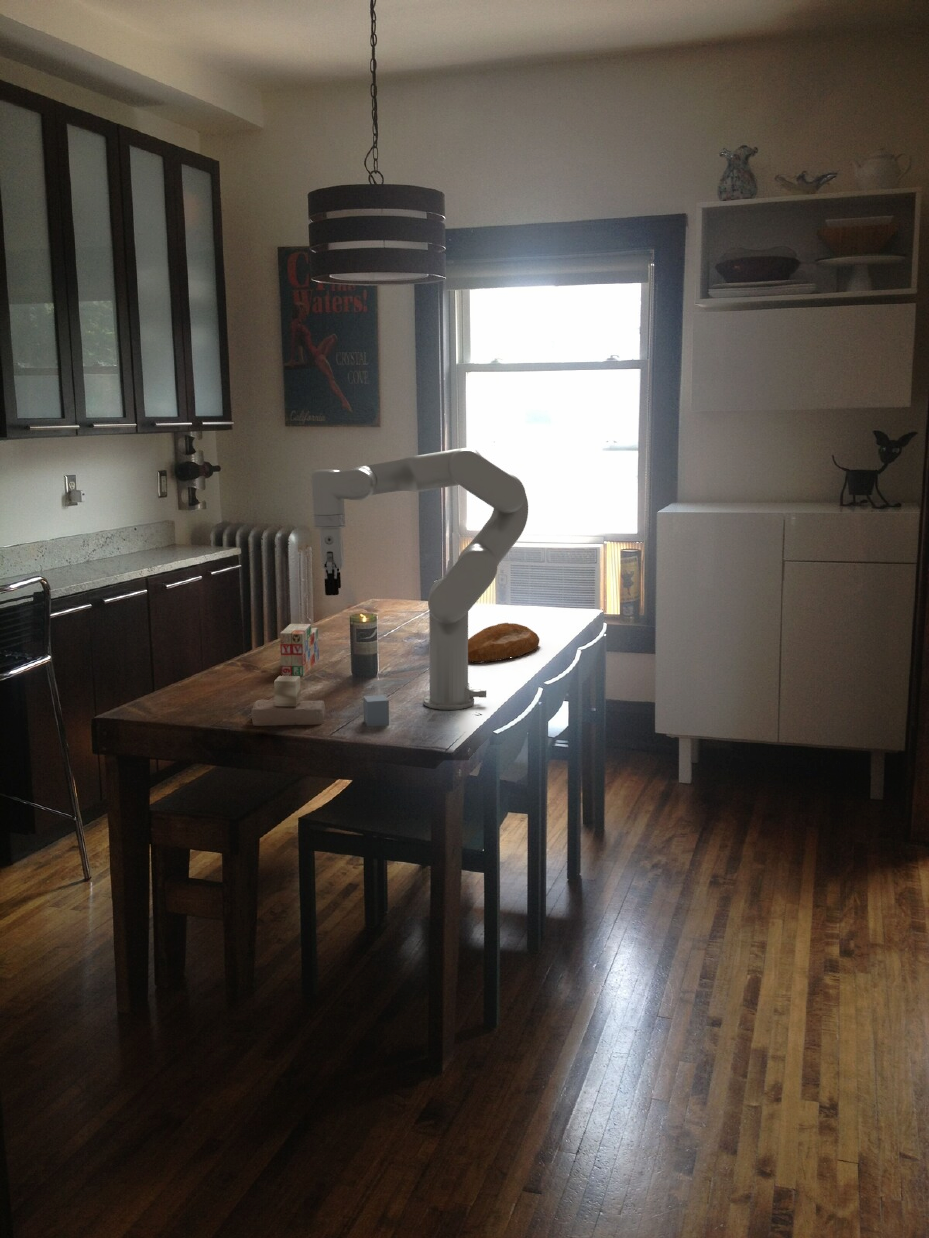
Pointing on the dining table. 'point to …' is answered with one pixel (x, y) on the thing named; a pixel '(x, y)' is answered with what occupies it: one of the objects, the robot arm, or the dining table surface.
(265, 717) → the brick
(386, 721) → the slate block
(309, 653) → the stack of blocks
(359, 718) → the dining table surface
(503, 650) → the bread
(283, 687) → the beech block
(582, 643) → the dining table surface
